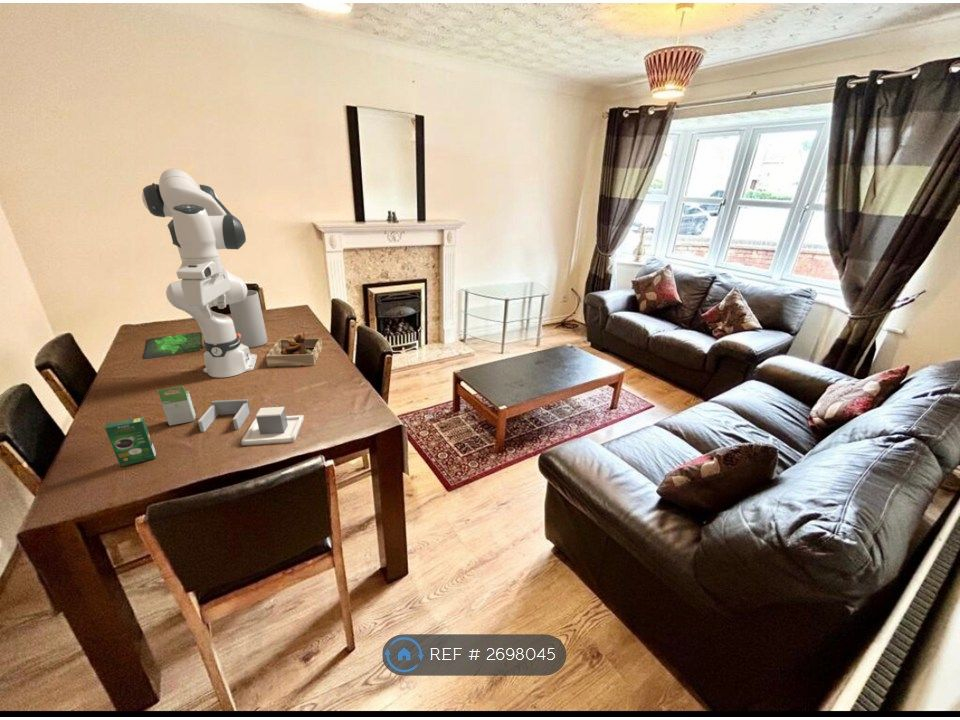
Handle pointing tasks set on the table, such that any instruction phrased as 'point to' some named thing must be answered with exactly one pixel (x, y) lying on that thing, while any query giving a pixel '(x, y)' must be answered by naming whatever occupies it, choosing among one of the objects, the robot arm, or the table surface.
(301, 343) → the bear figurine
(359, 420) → the table surface
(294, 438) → the tray
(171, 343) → the mouse mat
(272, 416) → the upright white block
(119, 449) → the coffee box
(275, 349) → the crate
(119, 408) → the table surface
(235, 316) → the cylinder vase
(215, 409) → the bay
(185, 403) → the ink box
